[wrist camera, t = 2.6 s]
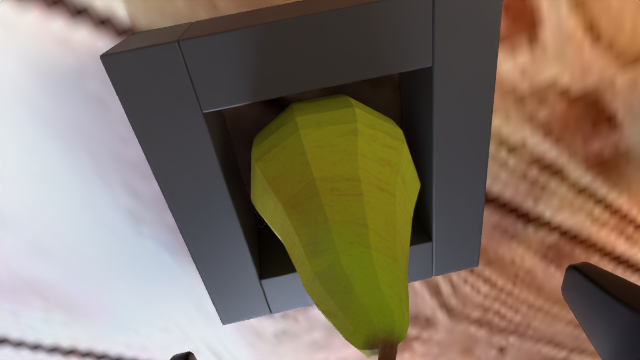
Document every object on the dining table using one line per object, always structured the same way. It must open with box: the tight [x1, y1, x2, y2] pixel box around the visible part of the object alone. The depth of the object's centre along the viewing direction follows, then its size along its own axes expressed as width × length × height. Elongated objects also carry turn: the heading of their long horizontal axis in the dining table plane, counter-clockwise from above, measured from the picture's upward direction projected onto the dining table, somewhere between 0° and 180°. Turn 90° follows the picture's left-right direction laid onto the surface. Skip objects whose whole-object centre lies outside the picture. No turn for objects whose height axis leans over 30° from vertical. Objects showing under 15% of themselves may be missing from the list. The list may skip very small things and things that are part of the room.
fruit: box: [251, 93, 421, 360], centre depth 12 cm, size 6×6×12 cm
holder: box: [100, 0, 503, 325], centre depth 15 cm, size 12×12×4 cm
